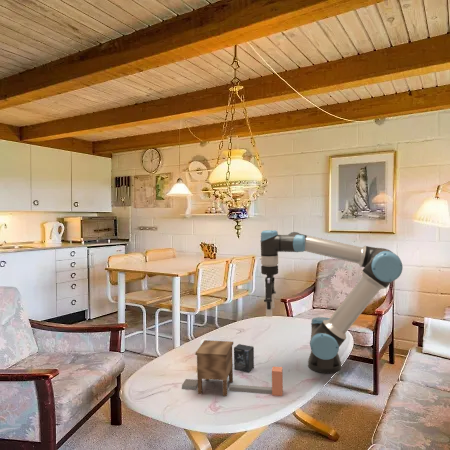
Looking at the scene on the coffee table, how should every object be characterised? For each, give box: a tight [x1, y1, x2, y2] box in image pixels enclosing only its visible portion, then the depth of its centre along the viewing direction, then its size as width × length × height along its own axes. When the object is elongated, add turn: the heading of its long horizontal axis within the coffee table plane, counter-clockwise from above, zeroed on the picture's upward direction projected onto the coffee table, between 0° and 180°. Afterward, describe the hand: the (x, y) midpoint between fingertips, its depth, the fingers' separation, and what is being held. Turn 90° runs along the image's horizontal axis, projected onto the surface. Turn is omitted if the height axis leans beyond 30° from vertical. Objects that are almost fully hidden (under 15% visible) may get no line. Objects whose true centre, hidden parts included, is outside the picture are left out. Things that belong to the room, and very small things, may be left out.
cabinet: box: [194, 339, 234, 397], centre depth 165 cm, size 13×15×17 cm
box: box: [233, 343, 255, 373], centre depth 183 cm, size 8×6×11 cm
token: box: [181, 378, 198, 391], centre depth 167 cm, size 6×6×2 cm
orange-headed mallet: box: [228, 366, 284, 397], centre depth 161 cm, size 22×4×10 cm, turn 78°
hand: (270, 312), depth 175 cm, fingers open, 13 cm apart
